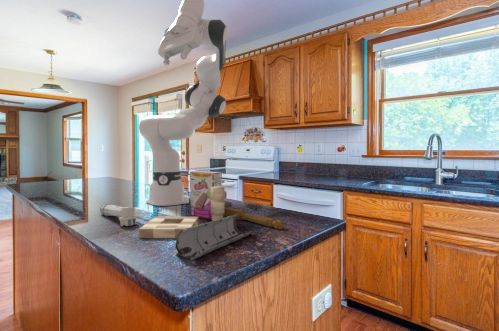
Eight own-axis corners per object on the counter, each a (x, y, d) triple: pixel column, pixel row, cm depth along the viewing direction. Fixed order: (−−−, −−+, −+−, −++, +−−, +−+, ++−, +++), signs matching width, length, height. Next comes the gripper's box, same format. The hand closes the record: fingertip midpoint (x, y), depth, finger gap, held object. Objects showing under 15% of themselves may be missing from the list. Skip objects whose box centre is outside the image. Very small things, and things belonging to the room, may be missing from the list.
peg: (211, 227, 97) (211, 186, 96) (225, 227, 97) (225, 186, 96) (210, 231, 92) (209, 188, 91) (224, 231, 92) (223, 188, 91)
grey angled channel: (181, 270, 70) (242, 242, 91) (198, 253, 67) (257, 228, 88) (165, 244, 72) (228, 223, 94) (180, 226, 70) (242, 209, 91)
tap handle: (278, 221, 94) (217, 206, 115) (278, 231, 94) (217, 214, 115) (284, 219, 96) (223, 205, 117) (284, 229, 96) (223, 213, 117)
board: (155, 224, 101) (155, 216, 100) (198, 224, 100) (198, 216, 100) (139, 237, 86) (138, 229, 85) (189, 238, 85) (189, 229, 85)
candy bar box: (189, 216, 111) (189, 171, 110) (199, 213, 116) (198, 170, 114) (213, 220, 105) (213, 173, 104) (222, 217, 109) (222, 172, 108)
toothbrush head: (112, 203, 117) (138, 203, 99) (113, 220, 117) (140, 223, 99) (97, 204, 114) (122, 205, 95) (98, 222, 114) (123, 226, 95)
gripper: (210, 28, 111) (200, 59, 107) (173, 43, 123) (163, 72, 119) (198, 15, 106) (187, 47, 102) (161, 32, 118) (150, 62, 114)
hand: (174, 61), depth 110 cm, fingers open, 8 cm apart
